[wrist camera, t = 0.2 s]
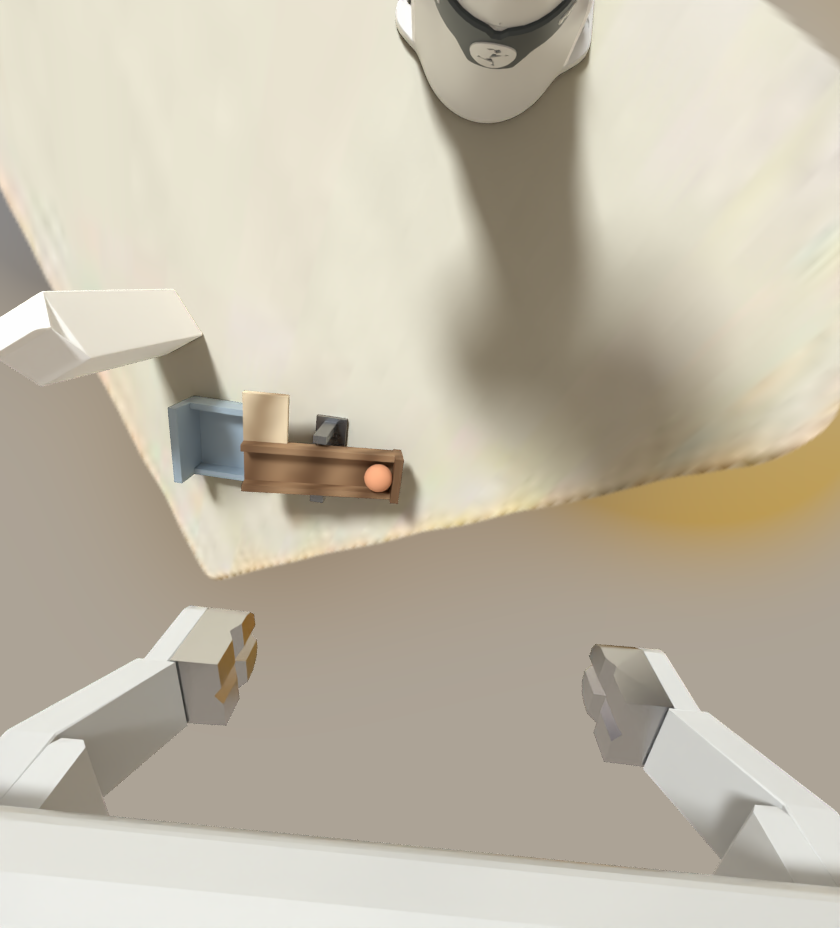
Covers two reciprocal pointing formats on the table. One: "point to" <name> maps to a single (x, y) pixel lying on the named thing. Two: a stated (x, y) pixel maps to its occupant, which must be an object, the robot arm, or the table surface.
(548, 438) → the table surface
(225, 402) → the light blue open box
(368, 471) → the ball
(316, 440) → the pivot stand
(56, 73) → the table surface
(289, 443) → the lever
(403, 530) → the table surface
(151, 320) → the milk
